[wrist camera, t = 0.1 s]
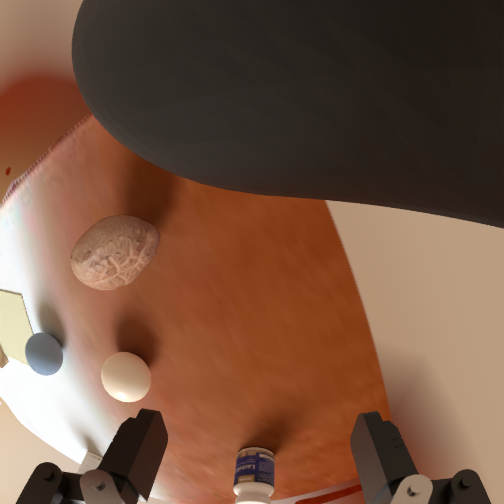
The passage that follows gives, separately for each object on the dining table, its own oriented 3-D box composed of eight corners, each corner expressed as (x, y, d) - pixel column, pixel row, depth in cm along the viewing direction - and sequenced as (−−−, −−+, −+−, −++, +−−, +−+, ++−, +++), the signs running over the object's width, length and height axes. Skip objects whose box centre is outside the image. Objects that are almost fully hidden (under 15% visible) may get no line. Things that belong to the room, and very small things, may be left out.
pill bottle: (250, 441, 32) (247, 497, 23) (281, 452, 33) (283, 504, 23) (230, 455, 34) (223, 506, 24) (259, 466, 34) (258, 514, 25)
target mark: (-18, 285, 28) (-19, 286, 28) (21, 295, 28) (21, 295, 28) (5, 353, 32) (4, 354, 32) (48, 372, 32) (48, 373, 31)
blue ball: (36, 322, 29) (11, 341, 23) (63, 329, 29) (38, 351, 23) (48, 356, 30) (27, 376, 25) (75, 364, 30) (54, 388, 24)
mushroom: (162, 199, 24) (120, 208, 16) (183, 260, 25) (152, 293, 18) (100, 225, 25) (51, 242, 17) (121, 279, 26) (80, 312, 19)
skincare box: (87, 450, 38) (66, 487, 26) (104, 458, 38) (85, 497, 26) (93, 462, 39) (75, 497, 28) (110, 469, 39) (93, 506, 28)
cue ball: (109, 339, 28) (85, 366, 23) (153, 345, 28) (133, 378, 22) (120, 376, 30) (101, 405, 24) (161, 384, 30) (146, 417, 24)
